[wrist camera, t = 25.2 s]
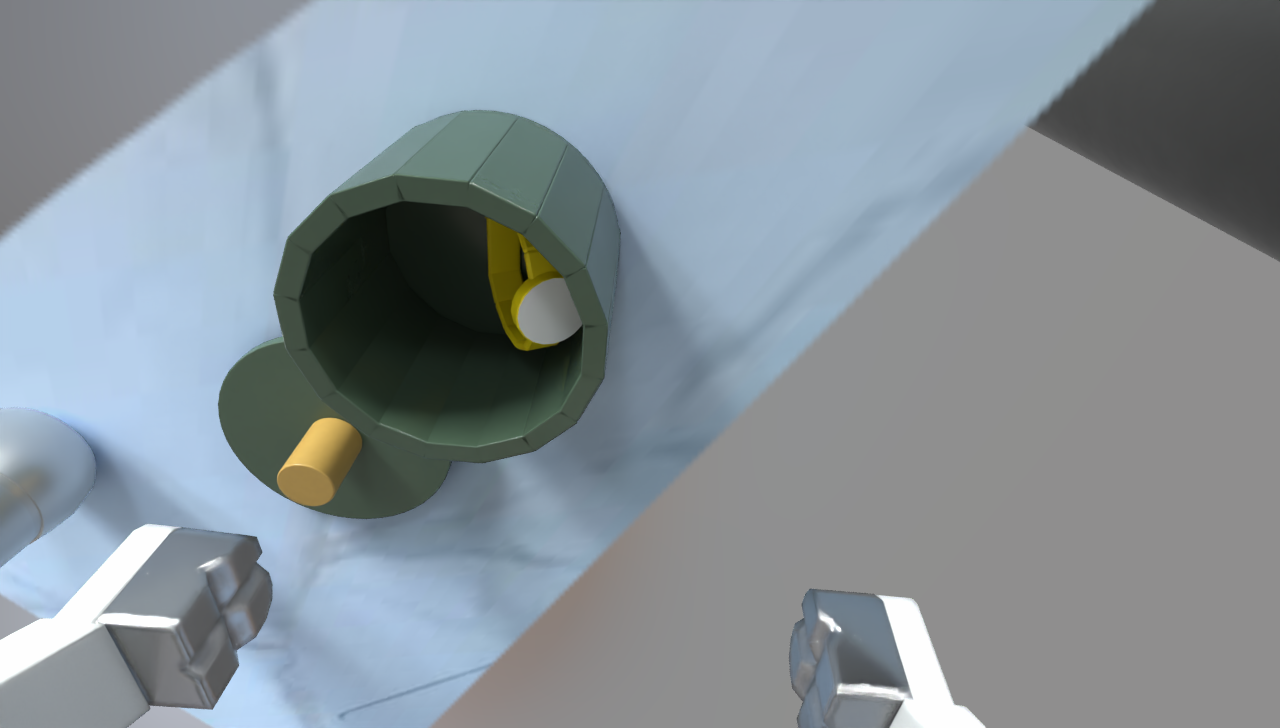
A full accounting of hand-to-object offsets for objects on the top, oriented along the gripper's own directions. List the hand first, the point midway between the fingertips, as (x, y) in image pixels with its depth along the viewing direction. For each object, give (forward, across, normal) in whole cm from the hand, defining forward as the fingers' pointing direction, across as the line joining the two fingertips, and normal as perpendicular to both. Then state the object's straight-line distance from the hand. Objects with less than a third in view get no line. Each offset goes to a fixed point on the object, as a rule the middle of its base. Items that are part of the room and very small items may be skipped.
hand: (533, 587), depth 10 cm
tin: (+20, +5, +3) cm, 21 cm away
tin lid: (+20, +13, +14) cm, 28 cm away
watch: (+20, +5, +3) cm, 21 cm away
